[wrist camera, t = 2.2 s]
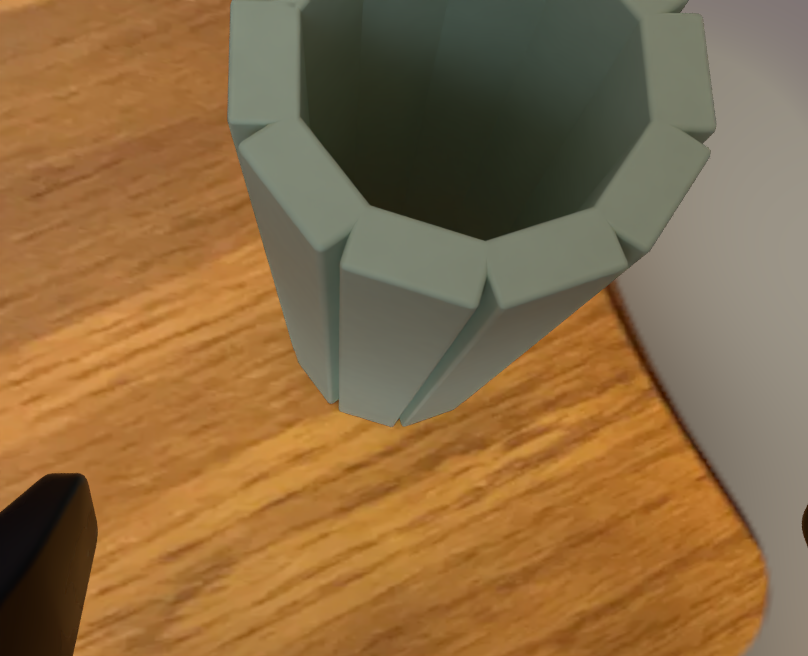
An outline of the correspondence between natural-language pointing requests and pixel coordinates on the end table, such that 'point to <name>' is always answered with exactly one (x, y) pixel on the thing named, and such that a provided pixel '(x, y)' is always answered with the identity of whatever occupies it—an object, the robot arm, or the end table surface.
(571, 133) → the sleeve
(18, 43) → the end table surface
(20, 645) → the robot arm
